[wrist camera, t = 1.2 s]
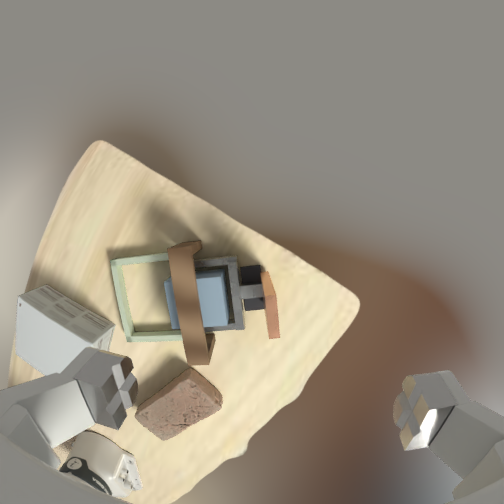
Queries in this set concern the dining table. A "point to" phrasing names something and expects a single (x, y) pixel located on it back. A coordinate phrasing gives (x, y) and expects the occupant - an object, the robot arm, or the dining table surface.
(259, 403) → the dining table surface
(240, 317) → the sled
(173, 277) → the tunnel
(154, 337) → the green hollow frame
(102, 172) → the dining table surface
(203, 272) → the block
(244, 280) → the dark grey flat block
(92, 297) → the dining table surface
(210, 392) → the brick
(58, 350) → the supplement box
